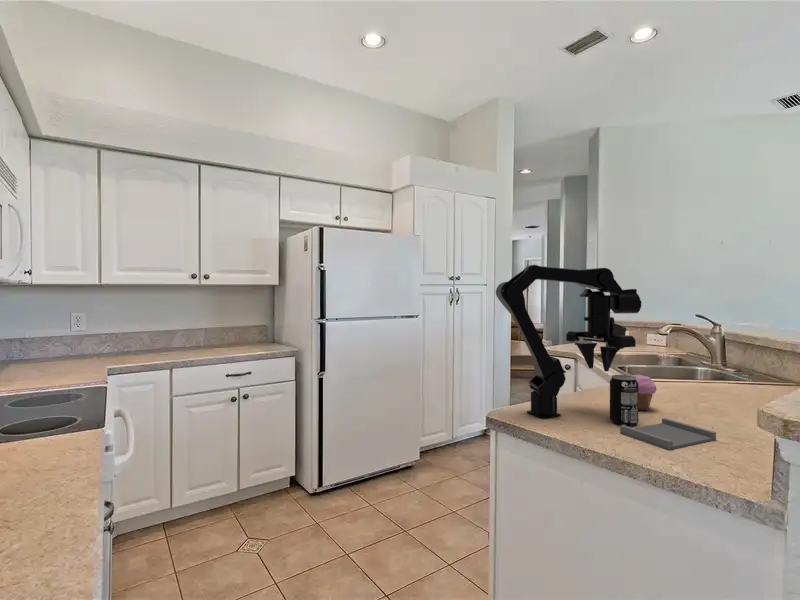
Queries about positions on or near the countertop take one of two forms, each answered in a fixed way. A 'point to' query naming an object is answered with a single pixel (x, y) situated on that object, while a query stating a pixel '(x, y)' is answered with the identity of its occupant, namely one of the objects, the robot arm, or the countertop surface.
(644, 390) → the cupcake
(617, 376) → the beverage can
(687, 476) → the countertop surface
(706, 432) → the grey tray
